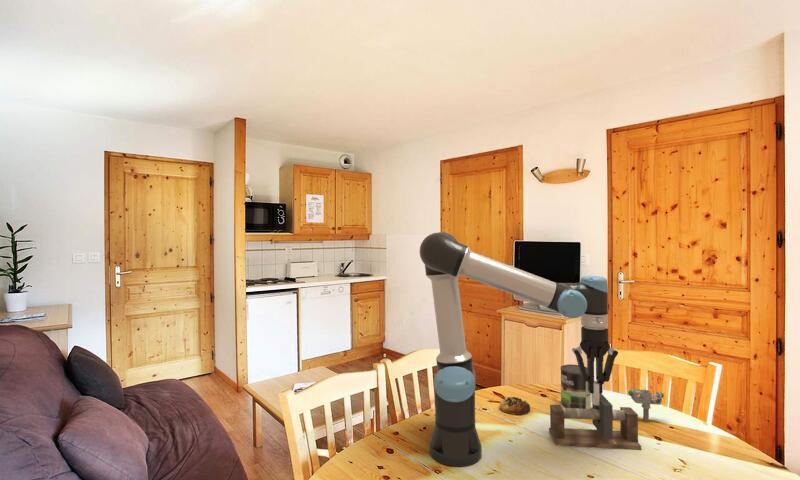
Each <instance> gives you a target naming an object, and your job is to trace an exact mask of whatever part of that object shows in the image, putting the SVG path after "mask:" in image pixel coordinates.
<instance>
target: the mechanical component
mask: <svg viewBox="0 0 800 480" xmlns="http://www.w3.org/2000/svg"><path fill="white" fill-rule="evenodd" d="M628 395H629V397H631V399H632V401H634V403H636V404H641V407H642V409H643V411H642V412H643V413H642V414H643V420H644V422H645V423H646V422H647V423H648V422H650V409H651V408H652V407H651V405H658V406H659V405H662V402H663V399H664V397H665V395H664V392H660V391H656V394H653V393H652V391H651V390H649V389H638V388H637V389H636V388H635V389H633V388H631V389H630V390H628Z"/></svg>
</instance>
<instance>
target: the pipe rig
mask: <svg viewBox="0 0 800 480" xmlns="http://www.w3.org/2000/svg"><path fill="white" fill-rule="evenodd" d="M619 408H620V409H613V421H619V422H620V424H619V425H620V430H617V429H615V430H614V429H613V439H604V438H603V437H602V435H601V434H600V433H599V431H598V430H597V429H596V428H595V429H592V428H590V429H589V428H568V427H566V428H565V420H568V419H569V420H570V419H571V420H591V421H592V420H600V410H599V409H592V408H591V409H578V408H562V407H561V404H549V411H550V412H549V414H550V417H549V419H550V421H549V422H550V427H548V432H549V435H550V436H551V439H552V441H553V442H554V445H555V446H556V447H573V448H576V447H577V448H593V447H594V448H595V449H597V448H598V449H617V450H638V451H639V450H640V451H641V450H642V445H641V443H639V414H638V412H636V411H635V410H634V409H633V408H632V407H629V406H627V407H626V406H620V407H619Z"/></svg>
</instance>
